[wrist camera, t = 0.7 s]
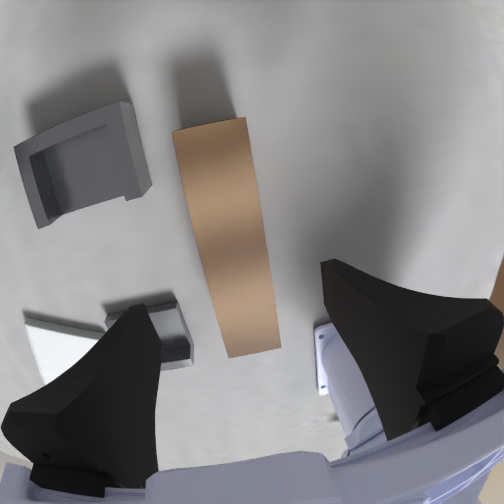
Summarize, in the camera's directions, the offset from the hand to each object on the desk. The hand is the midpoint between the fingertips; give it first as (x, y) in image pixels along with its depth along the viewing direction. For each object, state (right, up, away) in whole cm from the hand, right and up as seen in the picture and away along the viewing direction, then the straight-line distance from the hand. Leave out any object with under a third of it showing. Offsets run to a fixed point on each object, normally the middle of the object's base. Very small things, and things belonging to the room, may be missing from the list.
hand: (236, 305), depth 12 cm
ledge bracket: (-7, -4, +11) cm, 14 cm away
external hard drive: (-17, -10, +13) cm, 23 cm away
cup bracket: (-10, +8, +5) cm, 14 cm away
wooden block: (-1, +4, +9) cm, 10 cm away
